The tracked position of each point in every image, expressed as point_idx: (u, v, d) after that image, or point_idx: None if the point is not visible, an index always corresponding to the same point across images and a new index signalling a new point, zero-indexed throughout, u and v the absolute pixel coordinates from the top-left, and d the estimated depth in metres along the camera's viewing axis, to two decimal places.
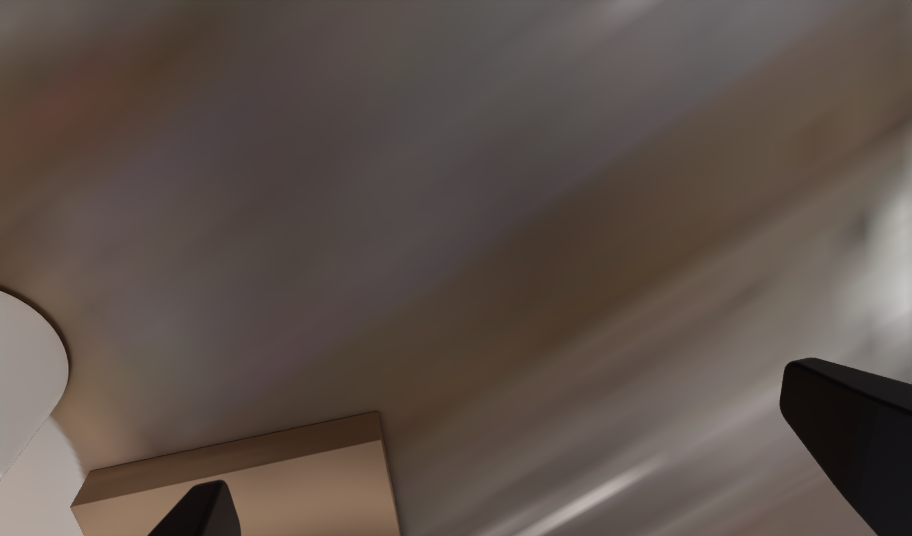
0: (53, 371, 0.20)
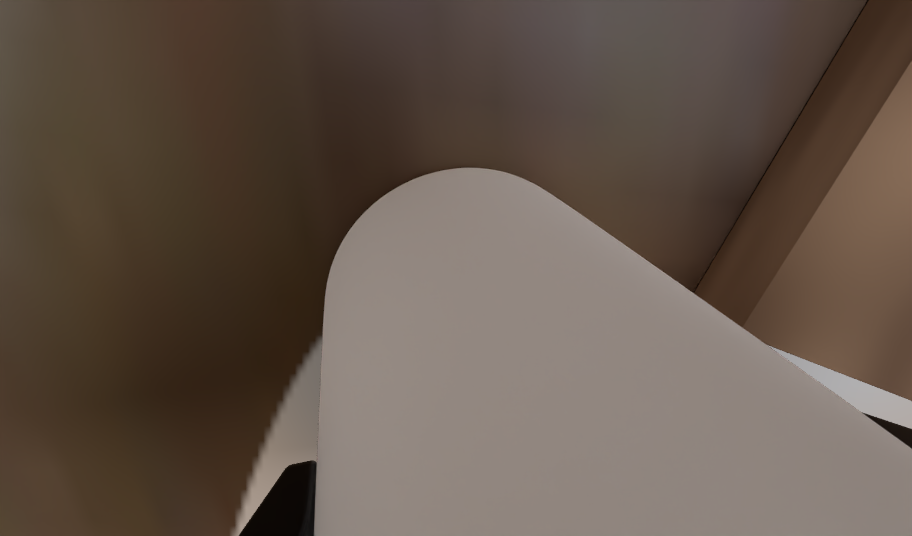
0: (556, 198, 0.12)
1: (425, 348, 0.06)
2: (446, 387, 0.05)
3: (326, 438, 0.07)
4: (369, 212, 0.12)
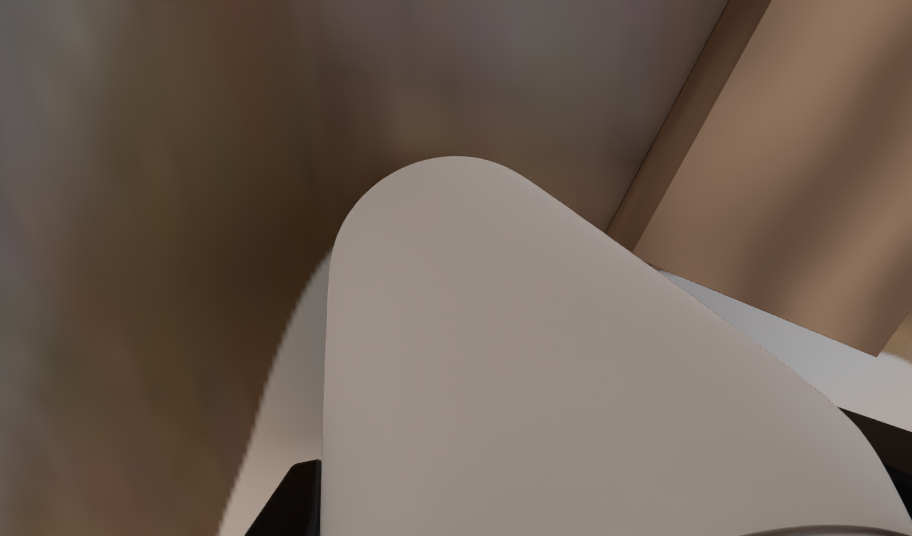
0: None
1: (429, 275, 0.08)
2: (444, 297, 0.07)
3: (339, 350, 0.09)
4: (377, 186, 0.14)
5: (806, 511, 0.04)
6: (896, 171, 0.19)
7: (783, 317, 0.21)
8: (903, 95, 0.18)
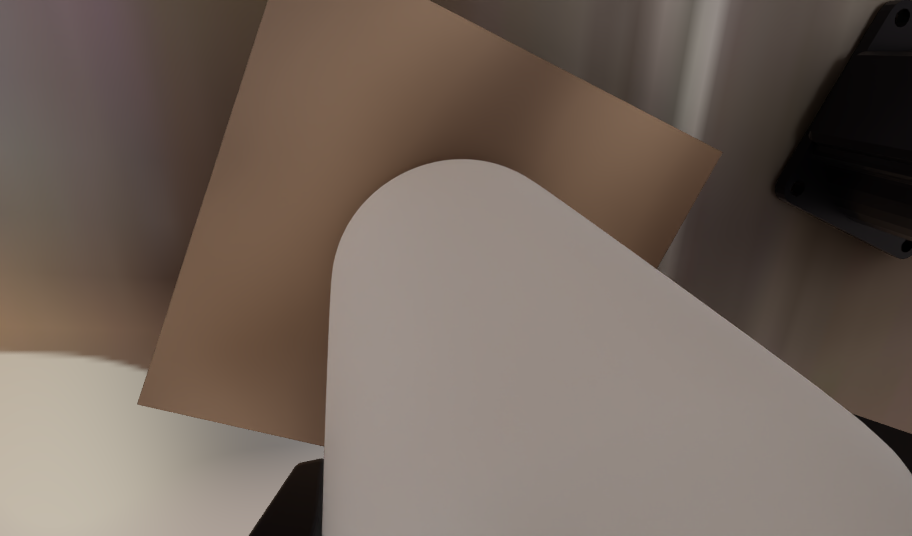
0: None
1: (435, 287, 0.08)
2: (453, 312, 0.07)
3: (341, 363, 0.08)
4: (381, 190, 0.13)
5: None
6: None
7: None
8: None
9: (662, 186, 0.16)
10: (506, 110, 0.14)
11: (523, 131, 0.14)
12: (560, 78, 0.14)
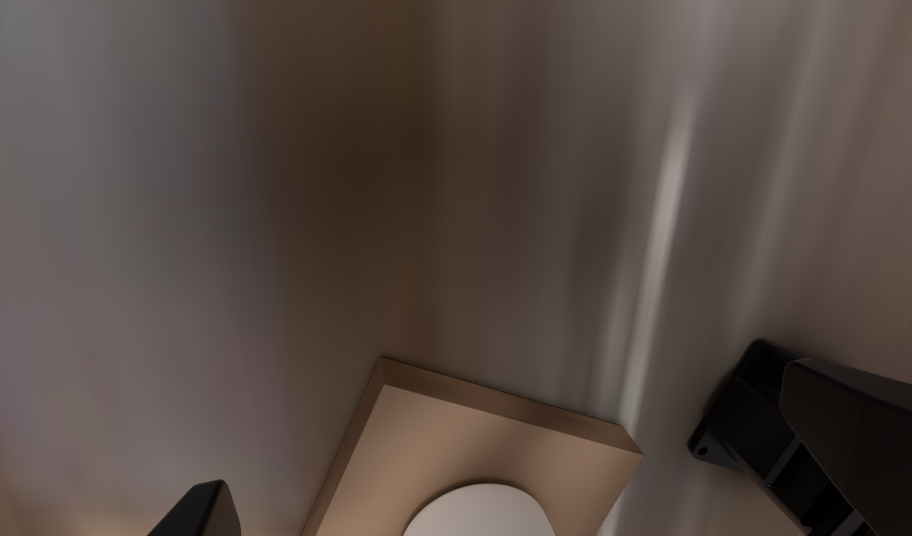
0: (532, 512, 0.22)
1: None
2: None
3: None
4: (432, 510, 0.22)
5: None
6: None
7: None
8: None
9: (606, 476, 0.25)
10: (506, 450, 0.23)
11: (516, 459, 0.23)
12: (539, 432, 0.23)
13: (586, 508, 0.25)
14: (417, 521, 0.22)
